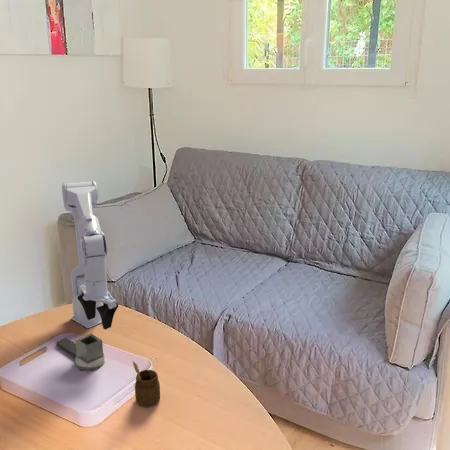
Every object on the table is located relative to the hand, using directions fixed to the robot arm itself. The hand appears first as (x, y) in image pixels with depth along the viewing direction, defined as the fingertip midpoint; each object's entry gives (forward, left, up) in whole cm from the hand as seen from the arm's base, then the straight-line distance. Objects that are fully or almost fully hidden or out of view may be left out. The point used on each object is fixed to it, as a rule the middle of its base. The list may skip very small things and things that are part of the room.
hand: (99, 323), depth 141 cm
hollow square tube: (+2, -5, -8) cm, 9 cm away
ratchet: (-3, -5, -9) cm, 11 cm away
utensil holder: (+26, -5, -10) cm, 28 cm away
